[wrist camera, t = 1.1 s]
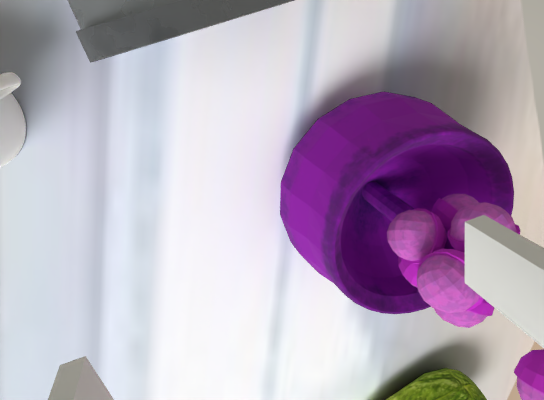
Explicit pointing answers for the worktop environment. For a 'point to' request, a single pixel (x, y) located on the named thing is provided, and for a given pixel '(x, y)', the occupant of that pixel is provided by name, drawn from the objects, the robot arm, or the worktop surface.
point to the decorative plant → (399, 209)
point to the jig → (151, 21)
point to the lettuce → (440, 387)
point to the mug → (10, 119)
